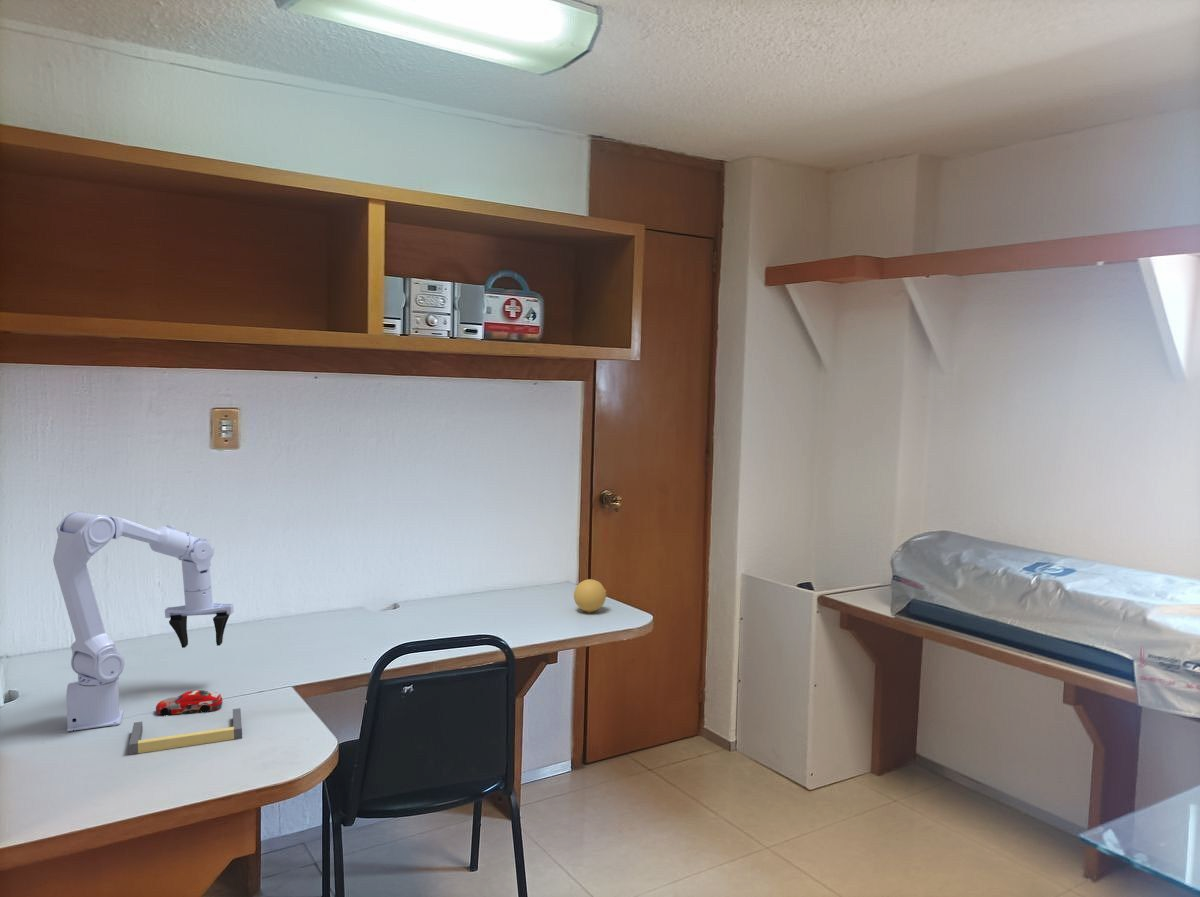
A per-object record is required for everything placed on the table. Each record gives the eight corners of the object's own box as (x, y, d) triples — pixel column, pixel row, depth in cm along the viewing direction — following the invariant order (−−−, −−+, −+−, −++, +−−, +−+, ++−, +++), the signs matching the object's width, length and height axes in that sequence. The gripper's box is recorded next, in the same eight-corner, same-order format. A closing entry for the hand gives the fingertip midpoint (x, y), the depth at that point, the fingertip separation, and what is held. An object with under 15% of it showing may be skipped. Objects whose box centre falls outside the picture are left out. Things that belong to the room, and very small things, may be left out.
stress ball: (596, 619, 265) (617, 595, 268) (575, 597, 263) (596, 573, 266) (583, 616, 274) (604, 593, 278) (562, 594, 272) (584, 571, 275)
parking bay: (129, 754, 168) (128, 744, 168) (134, 732, 178) (134, 722, 178) (242, 738, 176) (241, 728, 176) (240, 717, 186) (240, 708, 186)
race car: (152, 718, 186) (152, 700, 186) (159, 708, 192) (158, 691, 191) (219, 713, 189) (218, 695, 189) (224, 703, 195) (223, 686, 194)
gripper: (235, 581, 207) (239, 637, 208) (170, 585, 205) (175, 641, 207) (226, 590, 200) (231, 647, 201) (159, 593, 198) (164, 651, 200)
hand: (202, 645), depth 203 cm, fingers open, 7 cm apart
